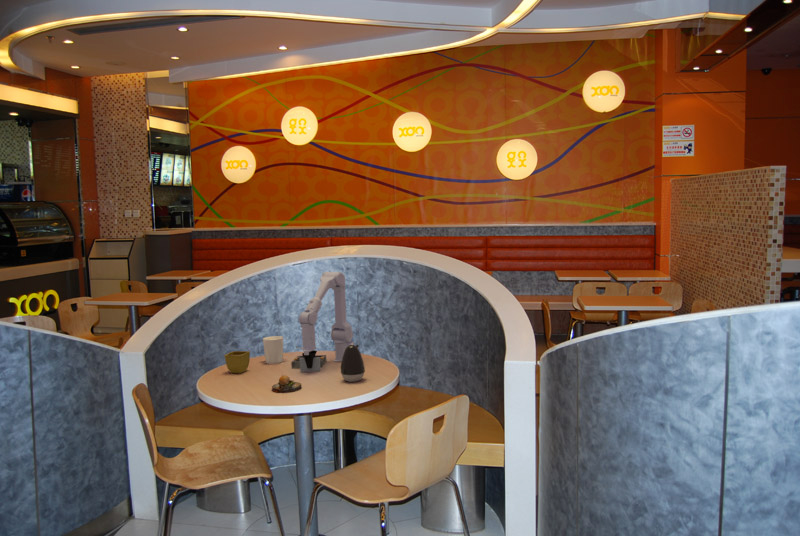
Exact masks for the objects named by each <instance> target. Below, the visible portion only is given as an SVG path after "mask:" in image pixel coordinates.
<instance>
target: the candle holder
mask: <svg viewBox="0 0 800 536" xmlns="http://www.w3.org/2000/svg"><path fill="white" fill-rule="evenodd" d="M262 344H263V350H264V359H265V360H264V361H265V364H268V365H275V364H281V363H283V362H284V336H280V335H275V336H273V335H272V336H266V337H263V338H262Z"/></svg>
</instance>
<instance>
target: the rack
mask: <svg viewBox="0 0 800 536" xmlns="http://www.w3.org/2000/svg"><path fill="white" fill-rule="evenodd" d="M316 357H320V367H321V368H323V366H325V364H326V362H327V354H316V355H315V358H316ZM300 358H304V357H303V356H302V355H297V356H295V357H294V358H293V360H292V361H291V363H290V364H291V369H300Z"/></svg>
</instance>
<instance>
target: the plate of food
mask: <svg viewBox="0 0 800 536" xmlns="http://www.w3.org/2000/svg"><path fill="white" fill-rule="evenodd" d="M301 389H302V383H300V382H297V381H294V380H291V378H290V376H288V375H286V374H285V375H281V376H280V377H279V379H278V382H277V383H276V384H273V385H272V386H271V391H272V392H274V393H276V394H287V393H294V392H297V391H300V390H301Z"/></svg>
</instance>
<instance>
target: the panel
mask: <svg viewBox="0 0 800 536" xmlns="http://www.w3.org/2000/svg"><path fill="white" fill-rule="evenodd" d="M321 370H322V369H321V367H320V357H316V358H313V366H312V368H307V365H306V362H305V359H304V358H300V368H299V371H300V373H303V372H304V373H305V372H306V373H310V372H321Z"/></svg>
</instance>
